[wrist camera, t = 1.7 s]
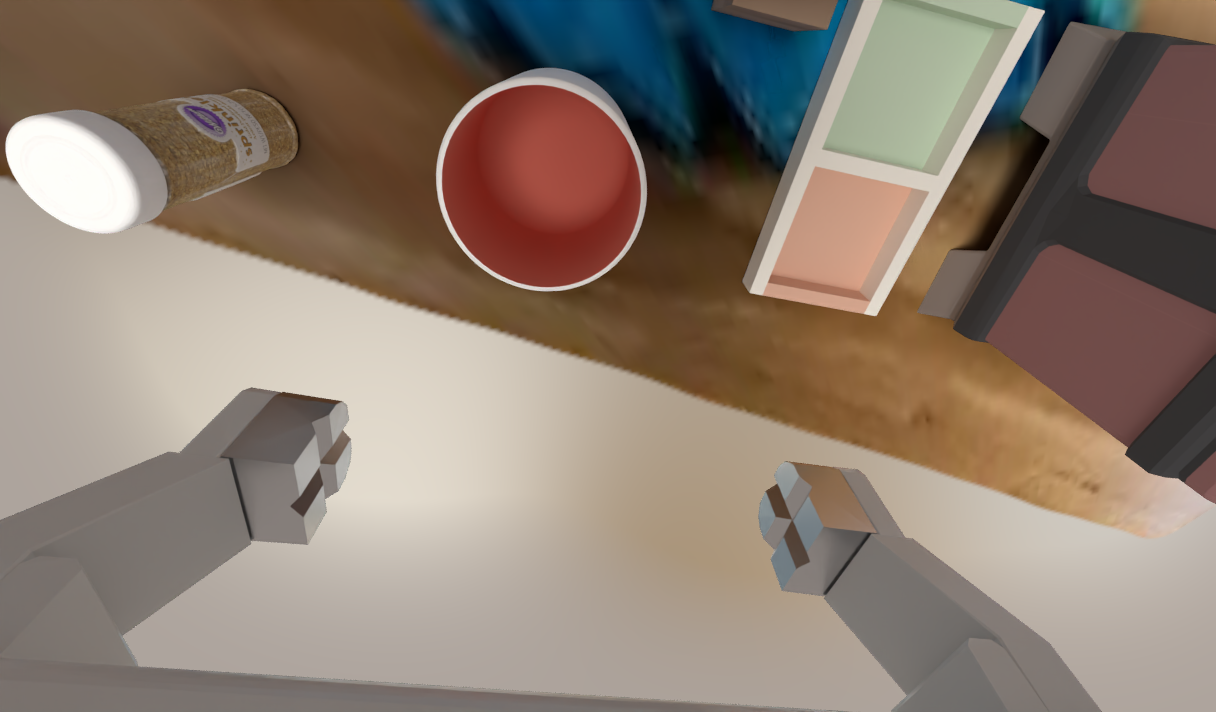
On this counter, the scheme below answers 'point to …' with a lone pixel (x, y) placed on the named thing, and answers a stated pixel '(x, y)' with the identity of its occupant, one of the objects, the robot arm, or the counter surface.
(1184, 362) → the toaster
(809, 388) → the counter surface
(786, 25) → the walnut block
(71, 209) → the sprinkles bottle
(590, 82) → the cup
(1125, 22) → the counter surface
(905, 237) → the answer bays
